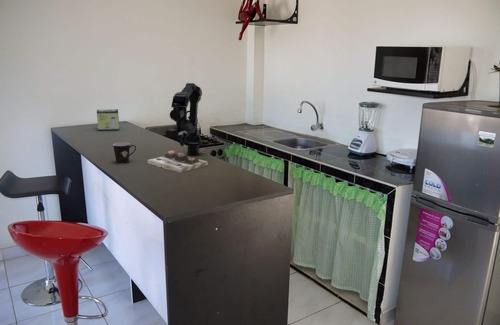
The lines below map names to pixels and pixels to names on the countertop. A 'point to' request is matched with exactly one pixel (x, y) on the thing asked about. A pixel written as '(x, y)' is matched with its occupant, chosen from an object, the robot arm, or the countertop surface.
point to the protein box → (108, 120)
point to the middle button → (181, 155)
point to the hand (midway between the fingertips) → (182, 146)
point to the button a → (171, 152)
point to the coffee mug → (122, 152)
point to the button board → (177, 163)
